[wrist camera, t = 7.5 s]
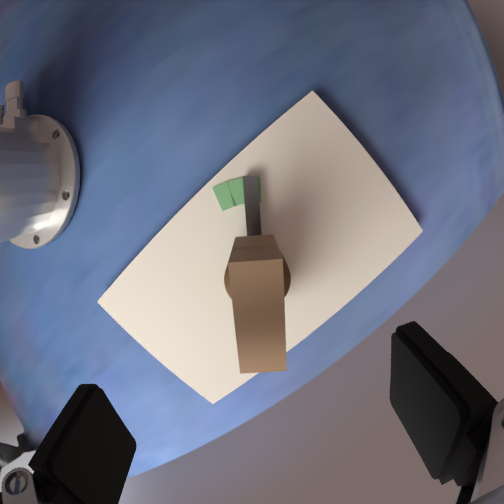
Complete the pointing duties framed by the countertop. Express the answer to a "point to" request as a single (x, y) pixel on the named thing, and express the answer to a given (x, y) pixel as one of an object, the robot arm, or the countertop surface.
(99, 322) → the countertop surface
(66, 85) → the countertop surface
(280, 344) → the brown piece
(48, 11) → the countertop surface
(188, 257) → the white rectangular slab
